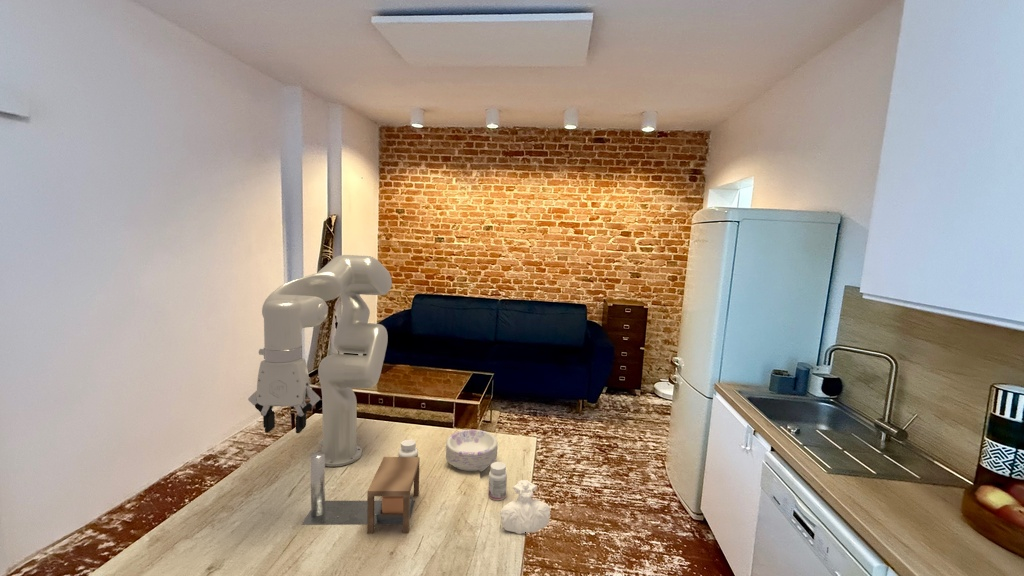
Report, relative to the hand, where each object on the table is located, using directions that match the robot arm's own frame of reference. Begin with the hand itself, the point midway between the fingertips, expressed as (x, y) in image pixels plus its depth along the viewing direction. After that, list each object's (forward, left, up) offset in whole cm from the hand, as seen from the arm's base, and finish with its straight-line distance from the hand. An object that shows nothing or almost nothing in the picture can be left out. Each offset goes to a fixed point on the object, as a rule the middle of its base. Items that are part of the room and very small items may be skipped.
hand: (285, 429), depth 98 cm
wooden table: (+23, +17, -22) cm, 36 cm away
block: (+20, +15, -20) cm, 32 cm away
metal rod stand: (+14, +10, -21) cm, 27 cm away
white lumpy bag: (+47, +31, -22) cm, 60 cm away
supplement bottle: (+9, +30, -22) cm, 38 cm away
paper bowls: (+20, +45, -22) cm, 54 cm away
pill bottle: (+35, +37, -22) cm, 55 cm away
